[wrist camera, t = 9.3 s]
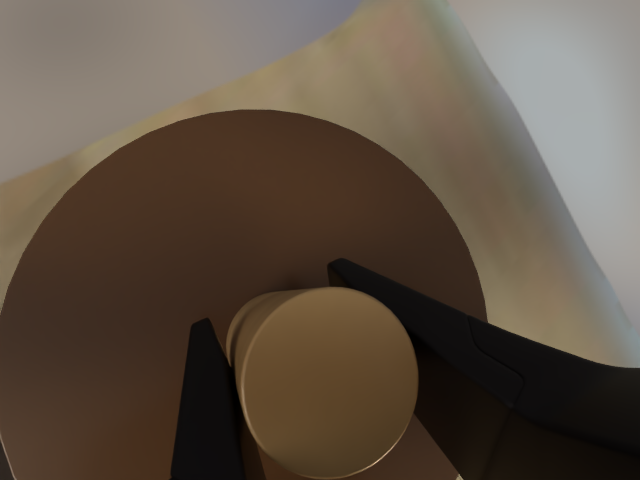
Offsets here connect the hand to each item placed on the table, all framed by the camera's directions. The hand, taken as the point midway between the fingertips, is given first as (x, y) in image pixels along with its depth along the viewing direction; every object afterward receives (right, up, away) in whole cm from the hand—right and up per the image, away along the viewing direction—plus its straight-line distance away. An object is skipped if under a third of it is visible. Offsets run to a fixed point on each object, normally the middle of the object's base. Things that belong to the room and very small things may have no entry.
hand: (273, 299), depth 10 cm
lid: (0, -2, +3) cm, 3 cm away
